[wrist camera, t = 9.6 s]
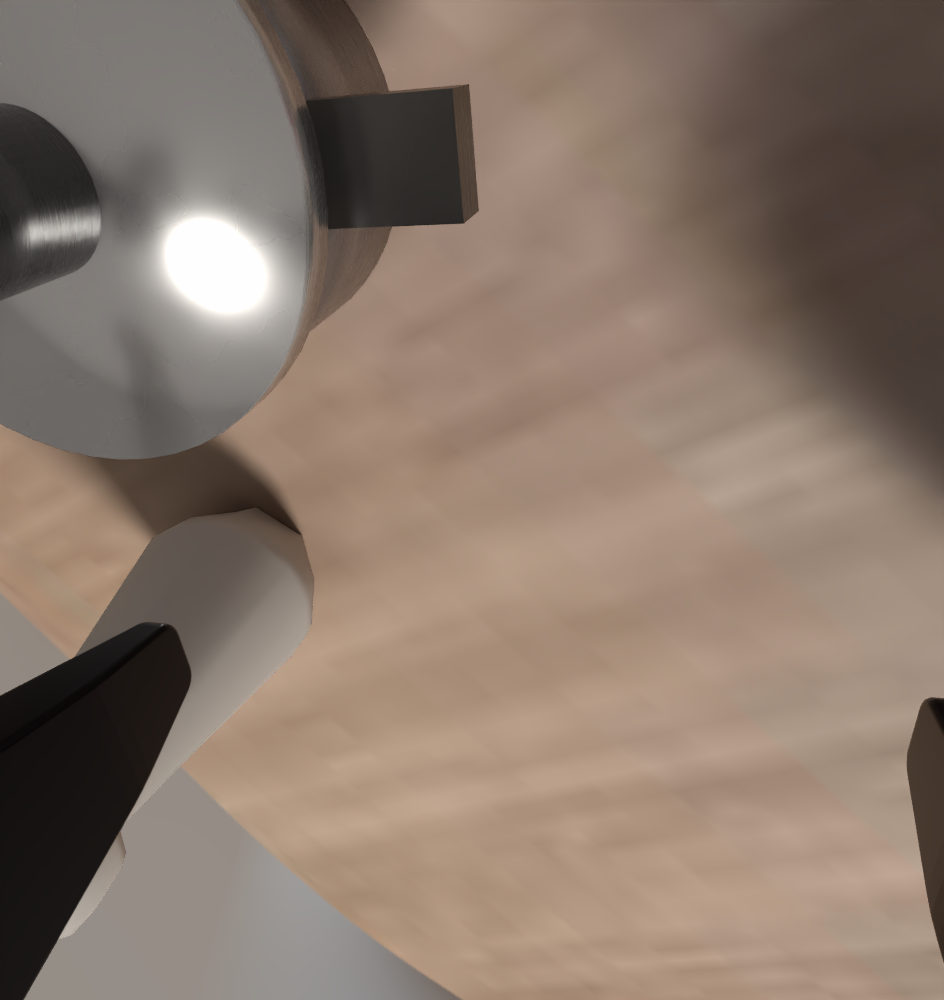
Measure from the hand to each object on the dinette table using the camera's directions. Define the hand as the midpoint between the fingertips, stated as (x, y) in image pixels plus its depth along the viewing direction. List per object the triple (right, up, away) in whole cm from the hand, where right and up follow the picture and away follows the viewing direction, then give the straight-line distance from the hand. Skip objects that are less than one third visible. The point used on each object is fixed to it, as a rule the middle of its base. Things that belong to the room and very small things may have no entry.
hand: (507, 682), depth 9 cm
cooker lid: (-8, +8, +6) cm, 13 cm away
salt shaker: (-8, 0, +18) cm, 20 cm away
